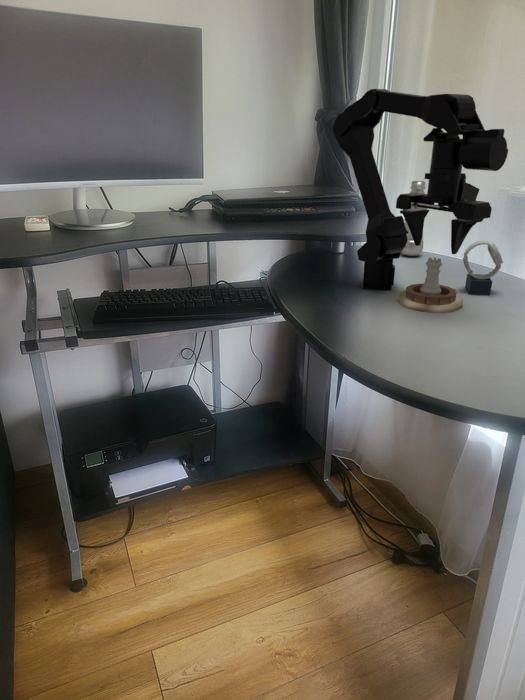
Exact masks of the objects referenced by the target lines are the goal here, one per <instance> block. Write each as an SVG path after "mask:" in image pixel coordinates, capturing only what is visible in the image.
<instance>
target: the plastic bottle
mask: <svg viewBox="0 0 525 700" xmlns="http://www.w3.org/2000/svg"><path fill="white" fill-rule="evenodd" d="M410 184H411V186H410V189H411V191H409V193H421V194H426V192H425V190H426V181H424V180H423V181H422V180H413V181H411V183H410ZM423 209H427V210H428V208H423ZM403 219H404V224H405V227H406V230H407V231H408V234H406V235H407V243H406V246H405V248H404V249H403V250H402V252H401V254H400V255H404V256H408V257H415V256H416V257H417V256H420V255H421V254H422V253H423V250H424V233H423V234H422V240H421V244H420V245H419V246H416V245H415V243H414V240H413V237H412V235H411V232H410V229H409V227H408V224H407V222H406V220H405V218H403ZM424 221H425V219H424Z"/></svg>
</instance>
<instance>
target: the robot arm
mask: <svg viewBox="0 0 525 700" xmlns="http://www.w3.org/2000/svg"><path fill="white" fill-rule="evenodd" d="M476 108H477V107H476V102H475V100H474V97H472V95H470V94H464V93H463V94H462V93H461V94H460V93H459V94H458V93H440V94H431V95H427V96H426V95H420V94H412V93H405V92H399V91H391V90H387V89H385V88H370V89H369V90H367V91H366V92H365V93H364V94H363V95H362V96H361V97H360V98H359V99H358V100H356V101H355V102H353V103H352V104H350V105H349V106H347V107H346V108H345V109H344V110H343V111H342V112H341V113H339V114H338V115H337V116H336V117H335V120H334V122H333V125H332V134H333V136H334V138H335V141H336V143H337V144H338V145H337V146H338V147H339V148H340V150H342V151H343V152H344V153H345V155H347V156H348V158H349V160H350V163H351V166H352V170H353V173H354V177H355V179H356V183H357V186H358V189H359V192H360V193H359V194H360V195H361V199H362V202H363V205H364V209H365V212H366V216H367V225H366V228H365V237H366V242H365V243H364V244H363V245H361V247H359V249H358V250H357V251H356V254H357V258H358V261H360V262H364V264H363V265H364V266H363V275H362V276H363V278H362V284H361V289H365V290H366V289H368V290H369V289H370V290H387V291H388V290H390V291H391V290H392V286H393V285H394V283H395V273H396V265H395V264H394V260H395V259H396V260H397V259H399V258H400V256H401V255H402V254H401V252H402V250H403V249H404V248H405V246H406V243H407V235H406V234H408V231H407V230H406V227H405V224H404V223H405V221H404V219H405V220H406V222H407V224H408V227H409V229H410V232H411V235H412V237H413V240H414V243H415V245H416V246H419V245H420V244H421V240H422V234H423V235H424V226H425V220H424V219H425V218H426V217H427V215H428V213H429V212H430V210H435V211H440V212H441V211H442V212H448V213H453V215H454V217H455V218H454V219H451V224H450V234H451V235H450V249H451V255H457V254H458V252H459V251H460V249H461V246H462V245H463V243H464V241H465V239H466V237H467V235H469V234H468V233H469V232H470V231H471V229H472V228H473V227H474V226H475V225H477V223H482V222H483V221H484V219H491V217H492V216H491V215H492V209H493V208H492V206H491V203H490V202H489V201H484V200H483V201H482V200H477V197H478V195H479V192H480V189H479V187H477V186H474V185H473V184H471V183H467V182H466V179H467V176H466V173H463V172H462V171H463V168H464V169H466V170H473V171H475V170H477V171H489V172H490V171H491V172H497V171H499V170H500V169H501V168H503V166H504V165H505V163H506V160H507V158H508V154H509V149H508V142H507V139H506V138H505V137H504V135H505V129H504V128H491V129H485V127H484V125H483V123H482V121H481V118H480V117H479V115H478V113H477V109H476ZM385 112H386V113H391V114H397V115H400V116H401V115H403V116H408V117H413V118H414V117H415V118H417V119H420V120H422V121H423V122H424V123H426V124H428V125H429V126H432V127H433V128H432V130H431V131H430V132H429V133H428V134H426V136H424V137H423V142H427V143H428V142H429V143H430V142H432V150H431V159H430V168H429V172H427V173H426V172H425V173H424V180H428V185H427V192H426V193H425V194H421V193H410V192H409V193H400V194H399V195H398V197H397V198H396V202H395V203H396V204H395V209H399V210H400V211H399V213H400V214H402V215H403V216H402V215H397V216H395V214H393V213H392V211H391V209H390V206H389V202H388V199H387V196H386V192H385V189H384V185H383V182H382V179H381V176H380V174H379V169H378V166H377V164H376V159H375V157H374V153H373V150H372V148H373V143H374V139H375V132H374V129H375V128H376V126H378V125H379V124H380V122H381V121H382V120H381V119H382V118H383V115H384V113H385ZM442 129H443V130H444V131H443V130H442ZM460 136H462V138H461V137H460ZM423 208H427V209H423Z"/></svg>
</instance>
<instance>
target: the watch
mask: <svg viewBox="0 0 525 700" xmlns="http://www.w3.org/2000/svg"><path fill="white" fill-rule="evenodd" d="M481 245H482V246H483V245H487V250H488V253H489V255H490V257H491V259H492V261H493V263H494V265H495V267H494V269H492V270H491V271H490V272H489V273H486V274H477V273H476V274H475V273H473V270H472V269H471V267H470V264H469V259H468V258H469V257H468V254H469V253H470V251H472V250H473V249H475V248H476V247H477V246H478V247H479V246H481ZM464 251H465V252H464V254H463V257H462V260H463V261H462V262H463V265H464V267H465V270H466V271H467V273H466V279H465V283H464V284H465V285H464V288H465V290H466V291H467V293H468V295H471V296H473V295H474V296H491V293H492V285H493V280H492V279H491V278H492V277H494V276H495V275H496V274H497V273H498V272H499V271H500V270H501V268H502V264H503V263H504V261H503V258H502V255H501V253H500V251H499V249H498V247H497V246H496V244H495V242H492V243H491V242H489V241H487V240H478V241H475V242H473V243H471V244H470V245H469V246H468V247H467V248H466V249H465V250H464Z"/></svg>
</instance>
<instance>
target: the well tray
mask: <svg viewBox="0 0 525 700" xmlns="http://www.w3.org/2000/svg"><path fill="white" fill-rule="evenodd" d="M423 284H424V282H422V283H413V284H410V285H408V286H406V289H405V290H403V291H400V292H399V293H398V294H397V302H398V303H399V304H400V305H401V306H402V307H405V308H407V309H410V310H414V311H417V312H418V311H419V312H425V313H440V314H441V313H451V312H456V311H458V310H460V309H462V307H463V304H464V299H463V297H461V296H460V295H458V294H457V291H456V289H455V288H452V287H450V286H447V285H444V284H443V285H442V284H439V285H440V288H441V293H440V294H441V296H431V295H424V294H419V293H420V292H421V291H420V289H421V287H422V286H423Z"/></svg>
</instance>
